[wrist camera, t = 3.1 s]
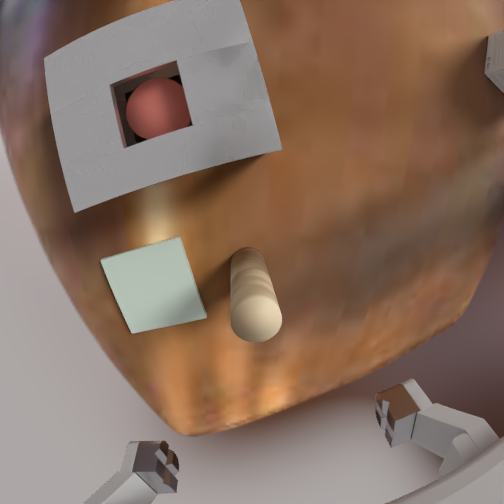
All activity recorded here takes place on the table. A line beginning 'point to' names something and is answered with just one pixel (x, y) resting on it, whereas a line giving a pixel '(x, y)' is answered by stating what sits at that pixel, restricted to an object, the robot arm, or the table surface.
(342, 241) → the table surface
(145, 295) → the coaster
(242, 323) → the dowel
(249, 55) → the box
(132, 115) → the button
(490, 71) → the supplement box
